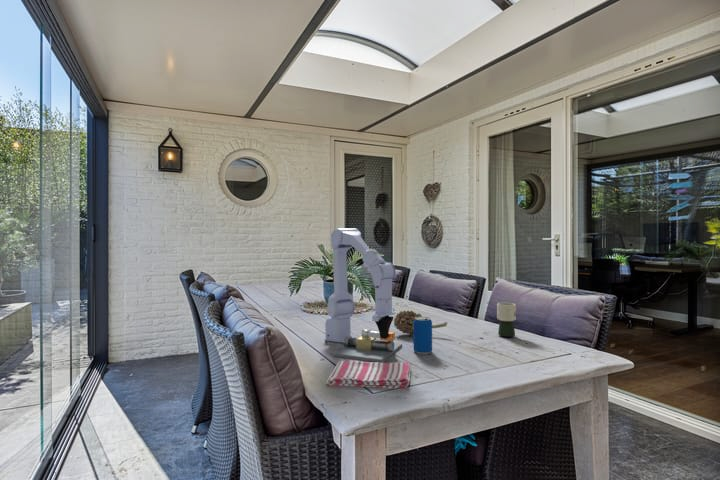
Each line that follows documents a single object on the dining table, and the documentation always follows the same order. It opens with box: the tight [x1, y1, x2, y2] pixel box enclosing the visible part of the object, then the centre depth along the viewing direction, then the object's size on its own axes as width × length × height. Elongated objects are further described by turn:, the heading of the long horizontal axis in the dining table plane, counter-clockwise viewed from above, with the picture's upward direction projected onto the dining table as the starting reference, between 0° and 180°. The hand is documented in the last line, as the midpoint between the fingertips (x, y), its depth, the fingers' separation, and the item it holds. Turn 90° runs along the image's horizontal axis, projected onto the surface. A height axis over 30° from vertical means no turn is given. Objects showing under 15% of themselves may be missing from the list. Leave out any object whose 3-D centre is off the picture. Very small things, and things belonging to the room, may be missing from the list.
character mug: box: [496, 302, 517, 338], centre depth 165 cm, size 11×7×13 cm, turn 177°
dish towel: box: [325, 360, 411, 390], centre depth 122 cm, size 17×23×4 cm
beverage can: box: [412, 316, 433, 355], centre depth 145 cm, size 6×6×12 cm
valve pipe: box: [343, 335, 395, 352], centre depth 147 cm, size 18×5×4 cm, turn 66°
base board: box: [332, 342, 403, 363], centre depth 147 cm, size 18×20×1 cm
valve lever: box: [361, 328, 396, 342], centre depth 145 cm, size 12×3×2 cm, turn 61°
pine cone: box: [393, 310, 449, 336], centre depth 168 cm, size 22×10×10 cm, turn 81°
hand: (384, 338), depth 142 cm, fingers closed
